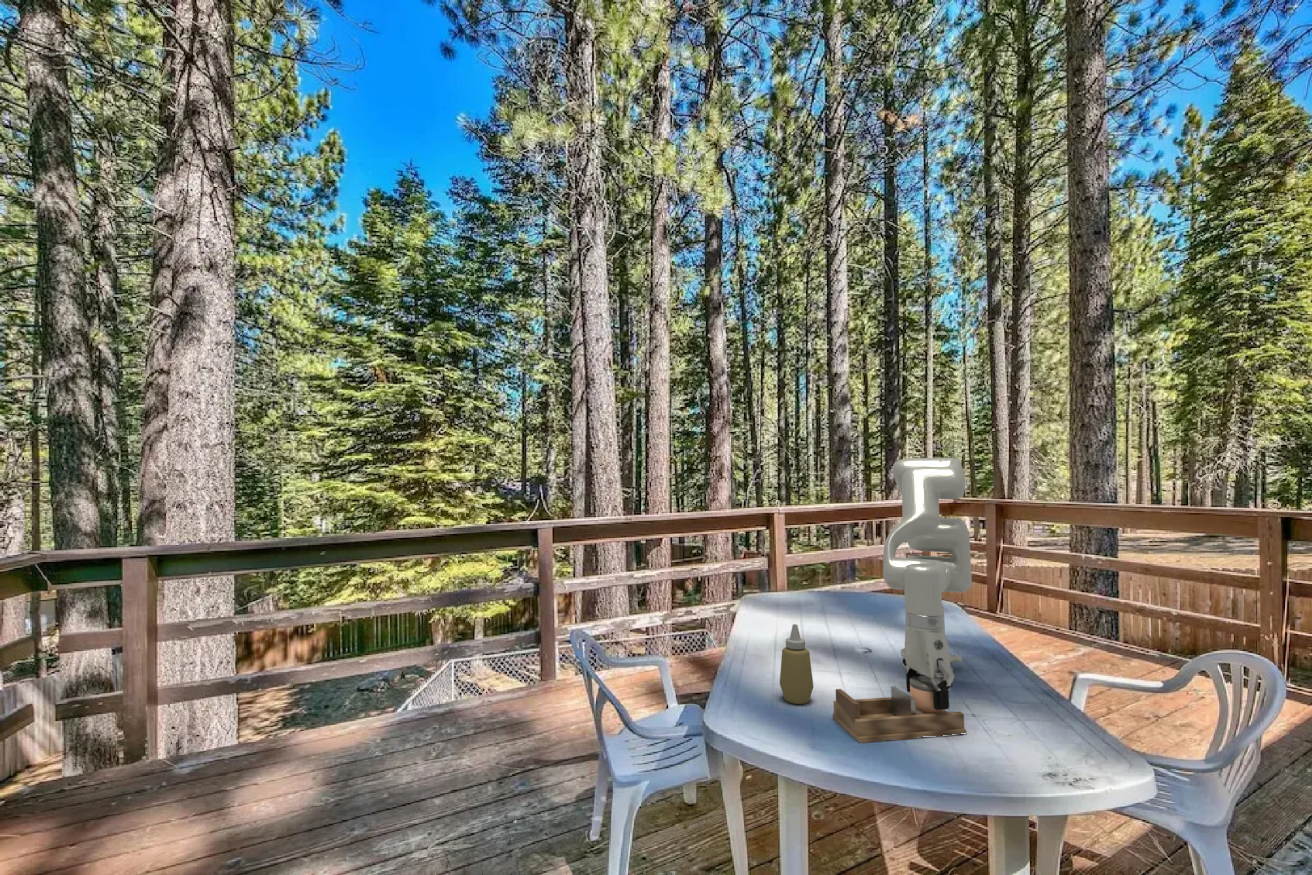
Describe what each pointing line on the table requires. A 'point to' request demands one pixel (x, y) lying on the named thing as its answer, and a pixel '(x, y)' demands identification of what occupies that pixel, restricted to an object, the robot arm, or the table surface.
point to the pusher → (902, 703)
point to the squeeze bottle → (796, 670)
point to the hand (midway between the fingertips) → (927, 699)
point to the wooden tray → (890, 720)
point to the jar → (923, 694)
